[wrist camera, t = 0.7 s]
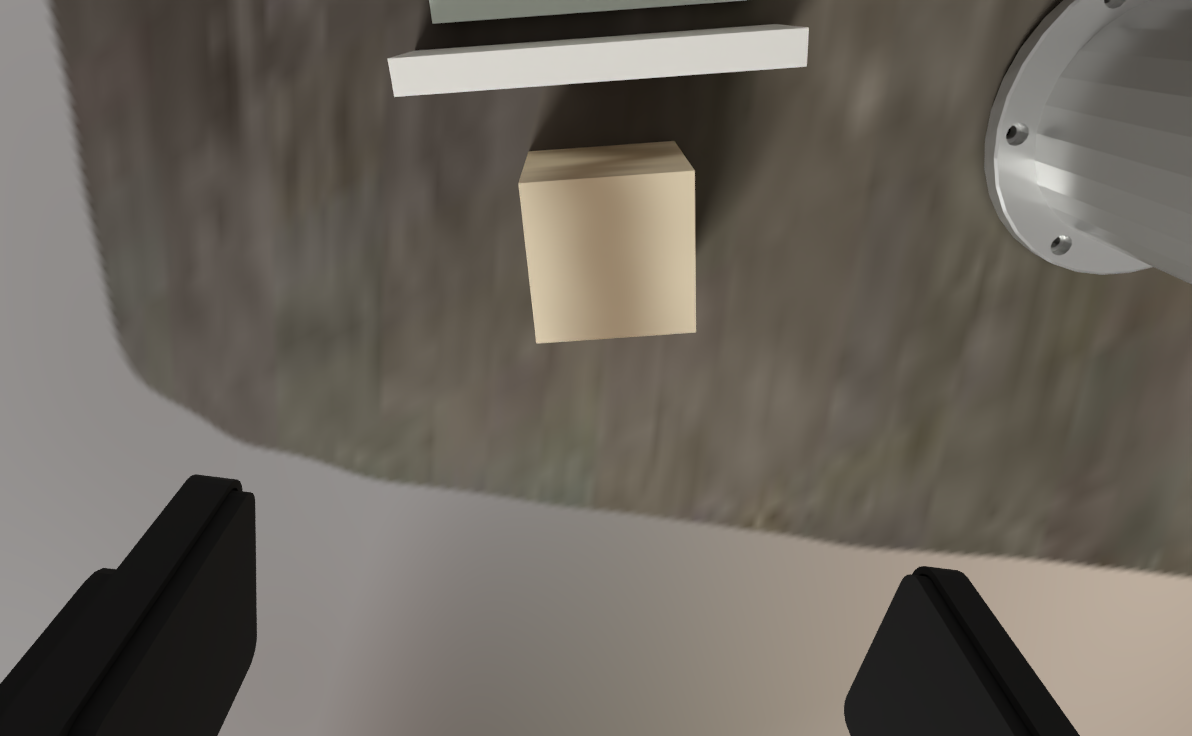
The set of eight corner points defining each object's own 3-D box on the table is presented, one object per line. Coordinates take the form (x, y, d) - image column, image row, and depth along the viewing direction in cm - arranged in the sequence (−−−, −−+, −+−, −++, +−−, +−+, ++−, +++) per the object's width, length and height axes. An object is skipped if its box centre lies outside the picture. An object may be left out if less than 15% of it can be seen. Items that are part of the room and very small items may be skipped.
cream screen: (775, 23, 29) (808, 27, 24) (774, 57, 29) (806, 66, 25) (414, 50, 29) (387, 58, 25) (419, 83, 29) (394, 96, 25)
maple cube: (673, 140, 30) (695, 170, 25) (676, 281, 33) (695, 335, 28) (528, 151, 31) (518, 183, 25) (543, 291, 33) (536, 347, 28)
